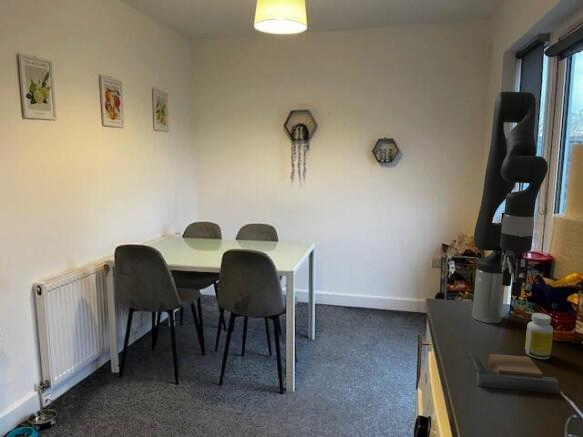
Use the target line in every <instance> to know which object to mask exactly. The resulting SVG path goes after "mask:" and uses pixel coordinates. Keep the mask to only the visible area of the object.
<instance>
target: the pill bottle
mask: <svg viewBox="0 0 583 437" xmlns="http://www.w3.org/2000/svg"><path fill="white" fill-rule="evenodd" d="M531 320H532V321H529V322H528V323H527V325H526V326H527V327H526V336H525V345H524V352H525V354H526V355H528V357H530V358H531V357H532V358H534V359H538V360H548V359H550V357H551V355H552V346H553V339H554V327H553V326H552V325H551V323H552V317H551V316H550V315H548V314H544V313H540V312H533V313H532V314H531Z"/></svg>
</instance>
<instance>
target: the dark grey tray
mask: <svg viewBox="0 0 583 437" xmlns="http://www.w3.org/2000/svg"><path fill="white" fill-rule="evenodd" d="M523 357H528V356H526V355H523ZM469 358H470V360H471V362H472V364H473V367H474V368H475V370H476V379H475V380H476V381H475V382H476V384H477V386H478V387H487V388H498V389H505V390H506V389H507V390H517V391H527V392H538V393H546V394H558V392H559V391H558V390H559V386H560V385H559V383H560V381H558V379H557V377H550V376H543V377H542V376H531V375H521V374H510V373H500V372H491V371H490V370H489V371H486V370H484V368H483V366H482V365H481V363H480V361H479V359H478V357H477V355H476V354H475V352H474V351H469Z"/></svg>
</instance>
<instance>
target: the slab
mask: <svg viewBox="0 0 583 437" xmlns="http://www.w3.org/2000/svg"><path fill="white" fill-rule="evenodd" d="M523 356H524V355H523ZM523 356H521V355H509V354H500V353H499V354H497V353H488V360H487V361H488V363H487V364H488V365H487V367H488V369H489V372H500V373H510V374H521V375H531V376H542V377H544V376H543V375H544V373H543V372H542V371H541V370H540V368H538V366H537V365H536V363H535V362H534V361H533V359H531V356H527V357H523Z"/></svg>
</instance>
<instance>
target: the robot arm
mask: <svg viewBox="0 0 583 437" xmlns="http://www.w3.org/2000/svg"><path fill="white" fill-rule="evenodd" d="M493 108H494V109H493V116H492V118H493V119H492V128H491V139H490V145H489V152H488V158H487V163H486V168H485V174H484V182H483V189H482V197H481V201H480V207H479V210H478V216H477V219H476V223H475V227H474V233H473V244H474V246H475V248H476V250H479V251H486V252H487V251H489V252H490V251H492V252H491V253H490V254H489V255H487V256H485V257H482V258H480V259H478V260H477V261H476V269H475V270H476V271H475V281H474V282H475V283H474V291H473V292H474V293H473V301H472V302H473V303H472V314H471V315H472V318H473V319H474V320H475V321H476V320H477V321H479V322H482V323H487V324H497V323H501V322H502V317H503V306H504V297H505V287H510V286H511V291H510V295H511V296H512V297H518V298H519V297H521V296H522V290H523V289H522V288H523V283H525V284H526V283H527V281H528V268H529V259H525V258H524V254H525V253H528V252H531V251H532V249H533V248H532V247H533V238H534V231H535V230H534V229H535V210H536V203H537V198H538V194H539V193H540V190H541V187H542V184H543V183H544V180H545V179H546V177H547V174H548V169H549V166H548V161H547V160H546V159H545V157H543V156H540V155H537V145H536V139H535V126H536V114H537V100H536V97H535V94H533V93H532V92H527V91H500V92H498V93H497V95H496V98H495V102H494V106H493ZM505 123H513V124H516V125H515V126H514V127H513V128H512V129H510V131H509V132H508V134H507V137H506V134H505V127H504V126H505ZM516 184H528V186H527V187H526V188H524V189H523V190H519V191H513V190H514V189H515V186H516ZM503 202H504V203H505V204H504V213H503V218H502V220H501V221H502V223H501V222H499V223H498V222H497V223H496V222H495V223H493V221H494V217H495V215H496V213H497V211H498V209H499V207H500V206H501V205H502V204H503Z"/></svg>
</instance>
